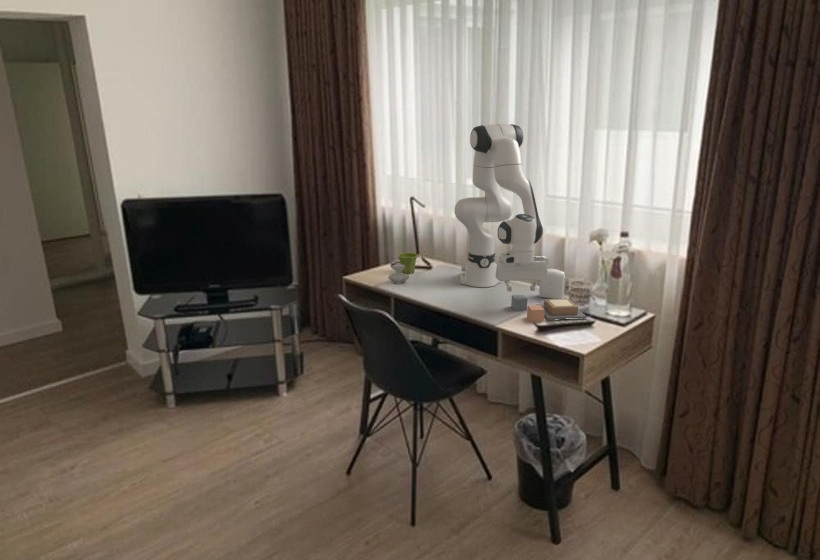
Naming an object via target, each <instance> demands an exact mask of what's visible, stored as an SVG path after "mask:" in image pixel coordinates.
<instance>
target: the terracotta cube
mask: <svg viewBox="0 0 820 560" xmlns="http://www.w3.org/2000/svg"><path fill="white" fill-rule="evenodd" d="M544 312H545V309H544V308H543V307H542V306H541V305H538V304H535V305H531V304H530V305H527V310H526V319H527V320H528V322H530V323H542V322H541V321H545V317H544Z"/></svg>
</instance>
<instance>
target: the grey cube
mask: <svg viewBox="0 0 820 560" xmlns="http://www.w3.org/2000/svg"><path fill="white" fill-rule="evenodd" d="M528 301H529V299H528V297H527V296H526V295H525V294H512V295H511V300H510V302H511V303H510V307H511V308H512V310H513V309H514V310H513V311H514V312H515V311H516V312H519V311H521V312H522V311H523V312H524V311H525V312H526V311H527V308H528Z"/></svg>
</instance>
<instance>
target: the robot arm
mask: <svg viewBox="0 0 820 560" xmlns="http://www.w3.org/2000/svg"><path fill="white" fill-rule="evenodd" d="M469 141H470V146H471V148H472V149H473V150H474V155H473V163H472V165H473V166H472V183H473V185H474V187H476V188H478V189H479V190H481V191H484V196H483V197H478V196H477V197H472V196H471V197H465V198H462V199H459V200H458V201H457V202H456V203H455V205H454V210H453V211H454V215H455V217H456V220H457V221H459V222H460V223H461V224H463V226H464V227H465V229H466V230H467V232H468V237H469V251H468V255H467V261H466V262H465V264H464V266H461V272H460V273H459V283H460V284H462V285H467V286H469V287H470V286H471V287H473V288H474V287H475V288H490V287H493V286H496V285H497V284H500V283H502V282H504V284H505V286H506V292H512V286H511V285H509V284H510V282H514V281H533V283H532V285H529V287H530V288H529V290H530V291H533V292H535V291H536V287H537V285H538V283H539V281H540V280H545V279H546V278H547V277H548V271H547V269H548V265H549V259H548V257H545V256H544V255H541V256H540V255H539V256H538V255H536V256H535V249H536V248H535V244H537V243H538V242H539V241H540V240H541V239H542V237H543V234H544V228H543V225H542V222H541V220H540V217H539V212H538V207H537V206H538V205H537V201H536V197H535V193H534V189H533V185H532V183H531V181H530V179H528V178H527V177H526V175H525V172H524V170H523V165H522V164H523V162H522V161H523V160H522V154H521V149H520V147H521V146H522V144H523V143H524V132H523V130H522V128H521V127H520V125H517V124H513V123H512V124H505V123H495V124H486V125H483V124H481V125H478V126H475V127H473V129H472V130H471V132H470V136H469ZM501 188H502V189H504V190H506V191H510V192H512V193H514V194H516V195H517V196H518V197H519V199H520V200H521V205H522V209H523V213H519V214H515V215H514V217H513V218H511V216H512V214H513V211H514V207H513V204H512V202H511V200H510V199H509V198H508V197H507V196H505V194H504V193H503V192H502V189H501ZM510 218H511V219H510ZM484 223H500V224H499V226H498V227H497V238H498V240H499V241H500V243H502V244H503V245H511V250H510V251H507V252H504V253H501V254H499V257H498V259H499V261H498V262H497V263H496V253H495V247H496V245H495V244H496V241H495V240H496V238H495V235H494V233H493V232H492V231H490V230H488V229H486V228H484V225H483V224H484Z"/></svg>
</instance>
